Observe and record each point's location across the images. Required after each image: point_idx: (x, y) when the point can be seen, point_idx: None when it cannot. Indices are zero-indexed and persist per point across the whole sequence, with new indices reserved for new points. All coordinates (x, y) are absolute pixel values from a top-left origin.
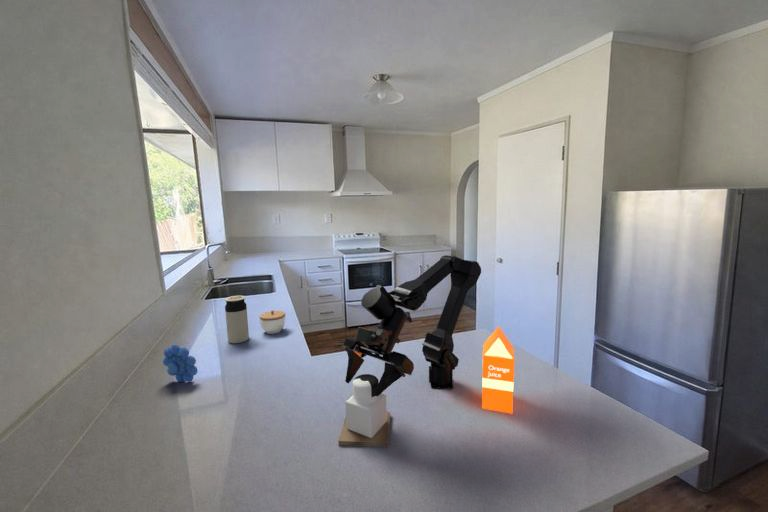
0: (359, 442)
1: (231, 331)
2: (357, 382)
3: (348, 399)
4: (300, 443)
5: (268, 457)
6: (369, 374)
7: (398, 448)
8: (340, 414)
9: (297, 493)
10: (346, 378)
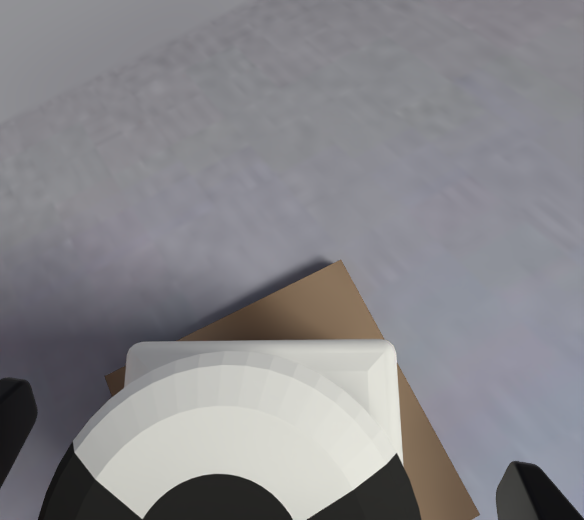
0: (242, 310)
1: None
2: (278, 407)
3: (386, 375)
4: (507, 185)
5: (551, 64)
6: None
7: (60, 394)
8: None
9: (309, 15)
10: (548, 492)
